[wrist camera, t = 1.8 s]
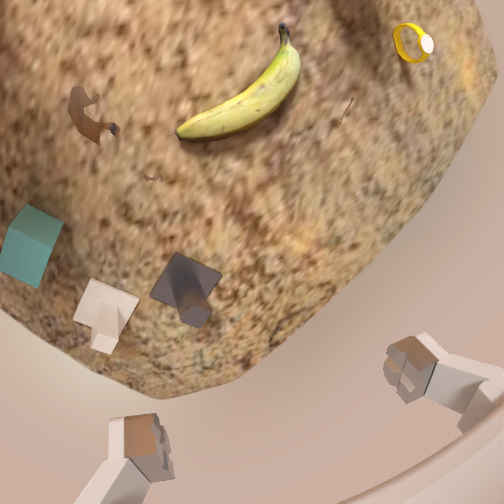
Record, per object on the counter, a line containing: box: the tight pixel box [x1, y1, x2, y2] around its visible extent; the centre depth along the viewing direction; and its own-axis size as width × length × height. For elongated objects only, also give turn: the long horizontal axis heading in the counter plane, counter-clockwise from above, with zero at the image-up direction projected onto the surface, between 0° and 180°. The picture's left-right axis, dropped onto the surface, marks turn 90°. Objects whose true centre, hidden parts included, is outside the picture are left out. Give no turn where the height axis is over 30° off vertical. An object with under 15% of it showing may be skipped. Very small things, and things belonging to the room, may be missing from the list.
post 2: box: [149, 252, 222, 328], centre depth 39 cm, size 7×7×7 cm
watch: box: [393, 23, 433, 63], centre depth 33 cm, size 6×3×6 cm, turn 22°
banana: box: [68, 22, 354, 182], centre depth 31 cm, size 35×27×4 cm
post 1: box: [73, 278, 139, 355], centre depth 36 cm, size 7×7×7 cm
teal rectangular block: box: [0, 204, 64, 289], centre depth 28 cm, size 5×5×7 cm
